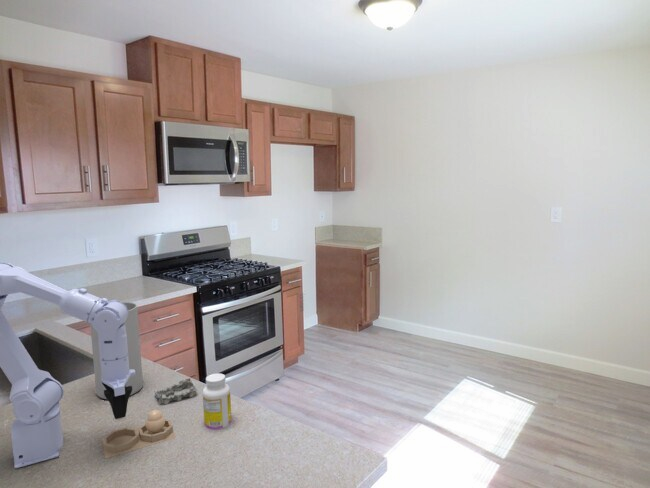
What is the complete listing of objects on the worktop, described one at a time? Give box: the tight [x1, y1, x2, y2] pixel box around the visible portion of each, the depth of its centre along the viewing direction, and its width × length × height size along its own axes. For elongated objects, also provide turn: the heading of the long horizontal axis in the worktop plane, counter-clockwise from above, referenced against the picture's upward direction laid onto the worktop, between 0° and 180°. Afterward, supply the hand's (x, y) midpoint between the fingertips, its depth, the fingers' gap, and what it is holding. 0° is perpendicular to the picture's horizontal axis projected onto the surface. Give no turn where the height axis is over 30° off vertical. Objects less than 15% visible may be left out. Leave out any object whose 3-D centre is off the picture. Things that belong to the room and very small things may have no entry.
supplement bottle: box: [202, 373, 233, 430], centre depth 109 cm, size 7×7×13 cm
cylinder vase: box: [89, 301, 144, 400], centre depth 128 cm, size 12×12×25 cm
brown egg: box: [144, 409, 166, 435], centre depth 105 cm, size 4×4×6 cm
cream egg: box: [107, 402, 130, 423], centre depth 101 cm, size 4×4×6 cm
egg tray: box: [101, 418, 177, 459], centre depth 104 cm, size 15×9×2 cm, turn 120°
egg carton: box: [154, 377, 198, 405], centre depth 124 cm, size 11×8×4 cm
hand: (119, 412), depth 101 cm, fingers closed on cream egg, 4 cm apart
